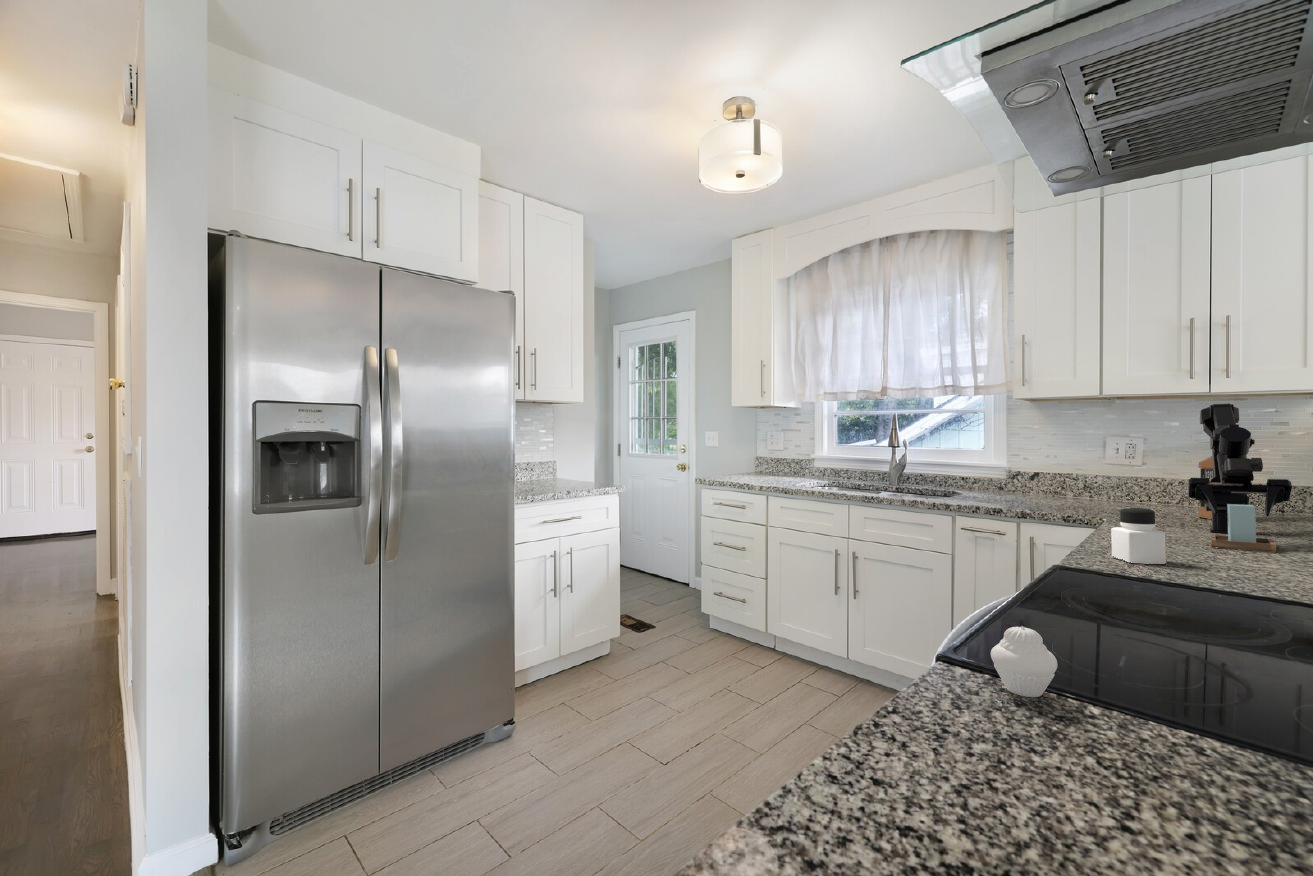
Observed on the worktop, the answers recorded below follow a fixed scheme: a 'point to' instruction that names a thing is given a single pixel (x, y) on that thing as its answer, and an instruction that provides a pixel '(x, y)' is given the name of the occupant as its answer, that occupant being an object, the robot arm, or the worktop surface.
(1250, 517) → the post
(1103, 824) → the worktop surface
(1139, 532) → the medicine bottle
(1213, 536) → the tray
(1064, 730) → the worktop surface
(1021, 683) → the muffin
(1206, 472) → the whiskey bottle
